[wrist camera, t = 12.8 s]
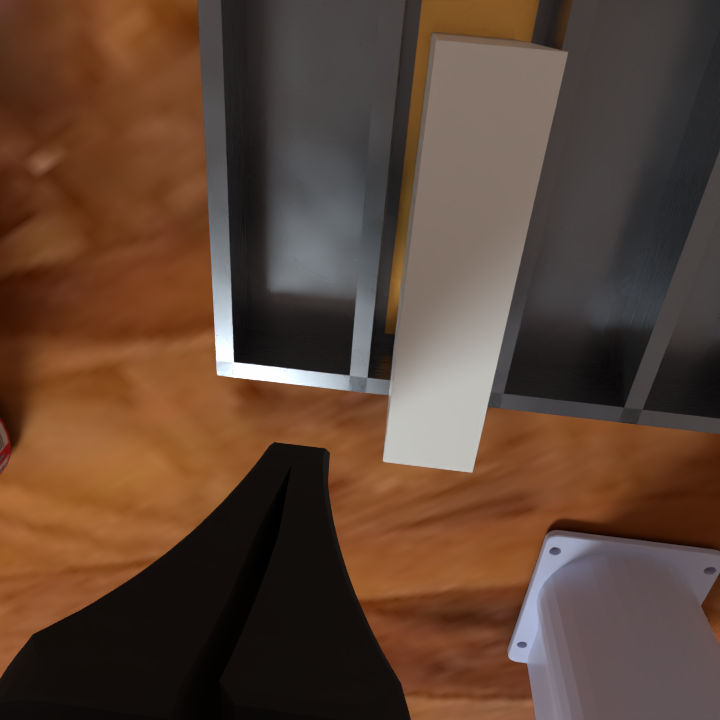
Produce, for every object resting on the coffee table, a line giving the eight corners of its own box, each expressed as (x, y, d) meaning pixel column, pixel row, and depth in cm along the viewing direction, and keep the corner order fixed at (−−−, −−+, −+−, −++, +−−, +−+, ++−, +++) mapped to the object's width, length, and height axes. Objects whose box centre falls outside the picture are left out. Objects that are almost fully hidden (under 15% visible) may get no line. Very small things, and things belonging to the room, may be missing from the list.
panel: (459, 346, 22) (472, 472, 16) (394, 339, 22) (382, 461, 16) (516, 39, 17) (568, 52, 11) (431, 31, 17) (435, 39, 11)
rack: (729, 384, 23) (780, 446, 20) (243, 329, 24) (214, 379, 20) (924, -31, 16) (1053, -43, 13) (233, -90, 17) (187, -115, 14)
